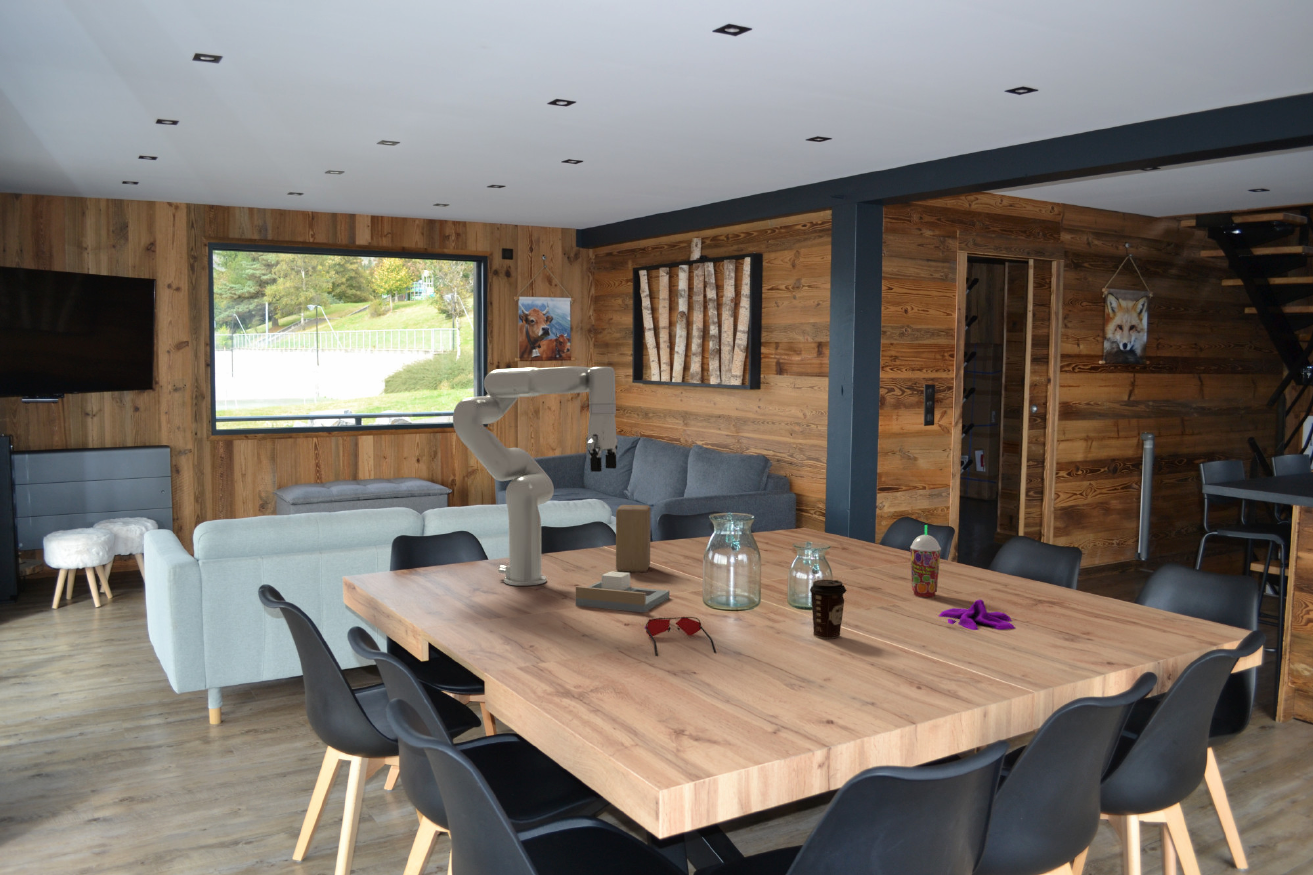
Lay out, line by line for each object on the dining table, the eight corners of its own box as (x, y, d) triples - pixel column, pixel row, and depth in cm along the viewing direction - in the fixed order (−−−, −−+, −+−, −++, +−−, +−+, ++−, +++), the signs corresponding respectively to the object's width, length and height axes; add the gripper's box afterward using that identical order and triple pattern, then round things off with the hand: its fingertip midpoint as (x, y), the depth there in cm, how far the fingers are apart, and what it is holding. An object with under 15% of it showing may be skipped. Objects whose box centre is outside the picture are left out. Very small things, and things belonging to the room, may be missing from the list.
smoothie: (907, 596, 276) (908, 526, 275) (911, 590, 284) (912, 522, 282) (937, 599, 273) (939, 528, 271) (941, 593, 281) (943, 524, 279)
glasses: (701, 635, 237) (701, 614, 236) (716, 655, 220) (717, 633, 220) (643, 637, 234) (643, 617, 234) (655, 657, 218) (655, 635, 218)
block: (650, 566, 317) (650, 504, 315) (647, 572, 307) (647, 509, 305) (619, 565, 318) (619, 504, 316) (615, 572, 308) (615, 508, 306)
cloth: (935, 611, 262) (936, 588, 262) (1008, 615, 258) (1009, 592, 258) (941, 633, 240) (942, 608, 240) (1022, 637, 236) (1022, 612, 236)
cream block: (601, 589, 274) (601, 575, 274) (610, 585, 280) (610, 571, 280) (621, 591, 272) (621, 577, 272) (630, 586, 278) (630, 572, 277)
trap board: (575, 605, 264) (575, 586, 264) (604, 591, 281) (604, 574, 281) (644, 612, 257) (644, 593, 256) (669, 597, 273) (669, 580, 273)
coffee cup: (848, 633, 238) (849, 580, 237) (843, 641, 230) (844, 587, 229) (812, 629, 241) (813, 577, 240) (806, 638, 233) (807, 584, 232)
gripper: (603, 409, 290) (605, 466, 291) (576, 411, 274) (578, 472, 275) (627, 409, 287) (628, 467, 288) (601, 411, 271) (602, 473, 272)
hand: (603, 469), depth 281 cm, fingers open, 9 cm apart
